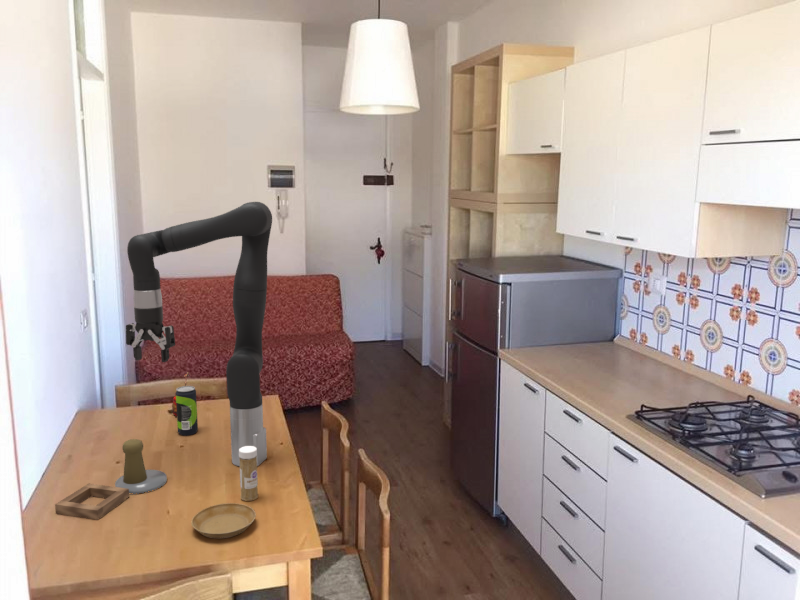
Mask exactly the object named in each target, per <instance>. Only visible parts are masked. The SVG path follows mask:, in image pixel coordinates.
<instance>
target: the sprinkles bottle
mask: <svg viewBox="0 0 800 600" xmlns="http://www.w3.org/2000/svg"><path fill="white" fill-rule="evenodd" d="M256 457H257V448H256V447H254V446H244V447H242V448H240V449H239V458H240V466H239V483H240V484H239V485H240V486H239V487H240V499H241V500H242V501H244V502H245V501H246V502H250V501H251V502H252V501H254V500H256V499H258V498H259V493H258V485H259V484H258V466H257V460H256V459H257V458H256Z"/></svg>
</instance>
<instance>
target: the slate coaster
mask: <svg viewBox="0 0 800 600" xmlns="http://www.w3.org/2000/svg"><path fill="white" fill-rule="evenodd" d="M145 470H146V475H147V479H146V480H145V481H143V482H141V483H137V484H126V483H124V482H123V476H124V474H123V475H121V476H120V477H118V478H117V479H116V481H115V483H114V485H115V486H114V487H120V488H127V489H129V493H133V494H132V495H140V494H139V493H142V494H145V493H144V492H147V493H149V492H148V491H151V492H153V491H152V490H154V491H156V490H158V489H157V488H159V489H160V488H162V487H164V486H165V484H166V483H167V482H168V481H167V480H168V479H167V477H168V476H167V474H166V473H165V472H164V471H162V470H158V469H145ZM161 486H162V487H161ZM155 489H156V490H155ZM136 493H137V494H136Z"/></svg>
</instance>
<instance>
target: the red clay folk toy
mask: <svg viewBox="0 0 800 600" xmlns="http://www.w3.org/2000/svg"><path fill="white" fill-rule="evenodd" d="M189 376H190V374H189V372H187V373H186V374H184V375H183V377H184V378H185V381H184V386H187V379H188V377H189ZM172 400H173V401H172V405H171V407H172V408H171V410H172V415H174V417H176V418H177V408H176V392H175V394H174V397H173V399H172Z"/></svg>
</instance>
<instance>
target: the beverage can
mask: <svg viewBox="0 0 800 600" xmlns="http://www.w3.org/2000/svg"><path fill="white" fill-rule="evenodd" d="M175 390H176V392H175V393H176V408H177V417H176V422H177V423H176V424H177V425H176V426H177V433H178V434H179V435H180V436H186V437H187V436H193V435H195V434H196V433H197V432H198V429H199V428H198V426H199V425H198V407H197V405H198V404H197V390H196V387H195V386H193V385H186V386H185V385H183V386H178V387H176V389H175Z"/></svg>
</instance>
